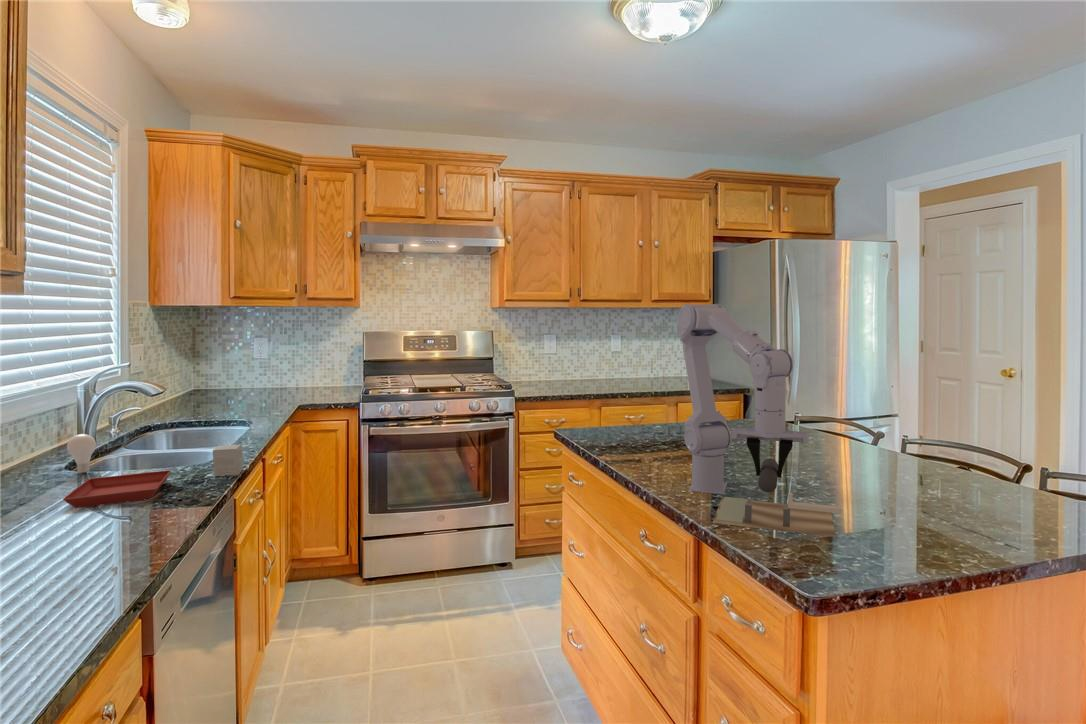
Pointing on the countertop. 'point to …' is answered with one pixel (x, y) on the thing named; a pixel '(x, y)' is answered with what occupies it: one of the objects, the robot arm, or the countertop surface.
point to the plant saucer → (117, 489)
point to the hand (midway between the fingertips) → (768, 475)
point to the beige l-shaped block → (812, 506)
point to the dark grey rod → (768, 475)
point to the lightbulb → (81, 450)
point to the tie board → (773, 517)
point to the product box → (227, 460)
